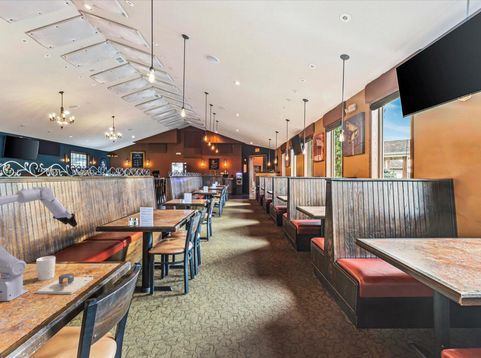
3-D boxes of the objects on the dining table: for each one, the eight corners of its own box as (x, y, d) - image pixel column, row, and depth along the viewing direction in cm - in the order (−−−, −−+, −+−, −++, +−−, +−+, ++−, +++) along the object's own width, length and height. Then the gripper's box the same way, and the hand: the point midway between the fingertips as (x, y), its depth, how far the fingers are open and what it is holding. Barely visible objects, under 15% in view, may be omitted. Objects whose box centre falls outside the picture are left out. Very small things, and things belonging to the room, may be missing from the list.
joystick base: (71, 294, 115) (71, 289, 115) (36, 293, 115) (36, 288, 115) (93, 279, 131) (93, 275, 131) (62, 278, 131) (62, 274, 131)
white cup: (59, 275, 136) (59, 256, 136) (46, 281, 128) (46, 261, 128) (45, 274, 137) (45, 255, 137) (32, 280, 129) (31, 260, 129)
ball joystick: (59, 280, 124) (59, 274, 124) (74, 277, 127) (74, 272, 127) (56, 288, 116) (56, 282, 115) (72, 285, 118) (72, 280, 118)
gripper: (69, 203, 129) (85, 221, 137) (53, 199, 136) (69, 216, 144) (57, 213, 125) (74, 231, 133) (41, 208, 131) (58, 226, 140)
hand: (71, 224), depth 138 cm, fingers open, 7 cm apart
